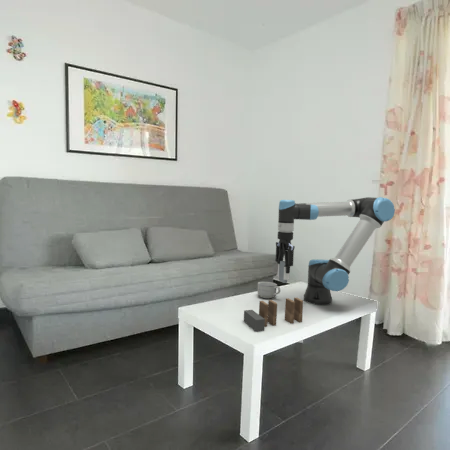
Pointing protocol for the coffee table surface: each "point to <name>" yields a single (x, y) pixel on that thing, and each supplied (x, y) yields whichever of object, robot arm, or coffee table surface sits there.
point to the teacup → (267, 289)
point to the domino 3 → (282, 272)
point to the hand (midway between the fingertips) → (283, 278)
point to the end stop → (254, 320)
